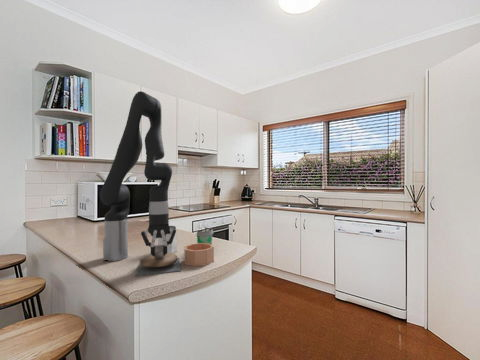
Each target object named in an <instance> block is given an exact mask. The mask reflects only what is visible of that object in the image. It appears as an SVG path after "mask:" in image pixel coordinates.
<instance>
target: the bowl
mask: <svg viewBox="0 0 480 360" xmlns="http://www.w3.org/2000/svg"><path fill="white" fill-rule="evenodd" d="M214 251H215V249H214V245H213V243H212V244H206V243H191V244H187V245H185V246H183V252H184V253H183V260H184V265H187V266H192V267H198V266H199V267H200V266H201V267H202V266H207V265H209V264H211V263H213V262H214V261H215V254H214V253H215V252H214Z"/></svg>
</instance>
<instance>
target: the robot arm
mask: <svg viewBox="0 0 480 360" xmlns="http://www.w3.org/2000/svg"><path fill="white" fill-rule="evenodd" d="M128 112H129V113H128V116H127V120H126V124H125V127H124V129H123V134H122V136H121V138H120V141H119V143H118V147H117V148H116V149H117V150H116V153H115V156H114V159H113V161H112V164H111V167H110V170H109V172H108V174H107V177H106V179H105V180H104V183H103V185H102V187H101V190H100V193H99V198H100V201H101V203H102V204H103V205H105V206H111V208H110V210H109V211H107V212H106V213H105V214H104V238H103V240H102V242H103V243H102V246H103V247H102V248H103V249H102V250H103V252H102V253H103V255H102V256H103V257H102V258H103V260H108V261H107V262H114V261H115V262H116V261H122V260H124V259H127V258H129V257H128V256H129V255H128V254H129V250H128V247H129V245H128V244H129V243H128V240H129V239H128V215H129V214H130V204H131V193H130V190H129V187H128V186H127V185H126V184H123V181H124V180H125V178H126V176H127V174H129V172H130V171H131V170H132V169H133V168H134V167H135V165H136V164H137V162H138V161H139V158H140V156H141V153H142V149H143V139H142V134H141V131H140V129H141V128H140V125H141V120H142V117H146V118H148V121H149V128H148V131H147V132H146V134H145V138H144V146H145V153H146V156H145V157H146V159H145V164H144V165H145V167H144V172H143V173H144V176H145V178H146V179H147V180H149V181H160V183H159V184H158V185H155V186H151V187H150V188H149V190H148V191H149V195H148V196H149V204H148V228H147V229H144V230H141V233H140V235H141V237H142V239H143V241H144V244H145V246H147V247H150V255H153V256H155V254H154V246H155V243H156V242H155V241H156V240H157V239H158V238H162V239H163V242H164V255H166V254H167V246H168V245H169V244H172V241H173V239H174V236H175V233H176V232H177V228H176V229H172V228H170V226H171V225H170V223H169V222H170V221H169V220H170V217H169V216H170V215H169V211H170V210H169V209H170V208H169V188H170V184H171V183H170V182H171V179H172V176H173V168H172V166H171V165H170V164H169V163H165V162H155V161H160V160H162V159H163V158H164V157H165V148H164V145H163V143H164V142H163V137H162V104H161V102H160V100H158V99H157V98H156V97H153V96H152V95H150V94H148V93H146V92H144V91H138V92H136V93H135V94H134V96H133V97H132V101H131V103H130V108H129V111H128ZM169 231H170V234H171V237H170V239H169V241H167V239H166V234H167V233H168V232H169ZM148 233H149V234H150V236H151V237H152V238H151V242H150V240H149V238H148Z"/></svg>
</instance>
